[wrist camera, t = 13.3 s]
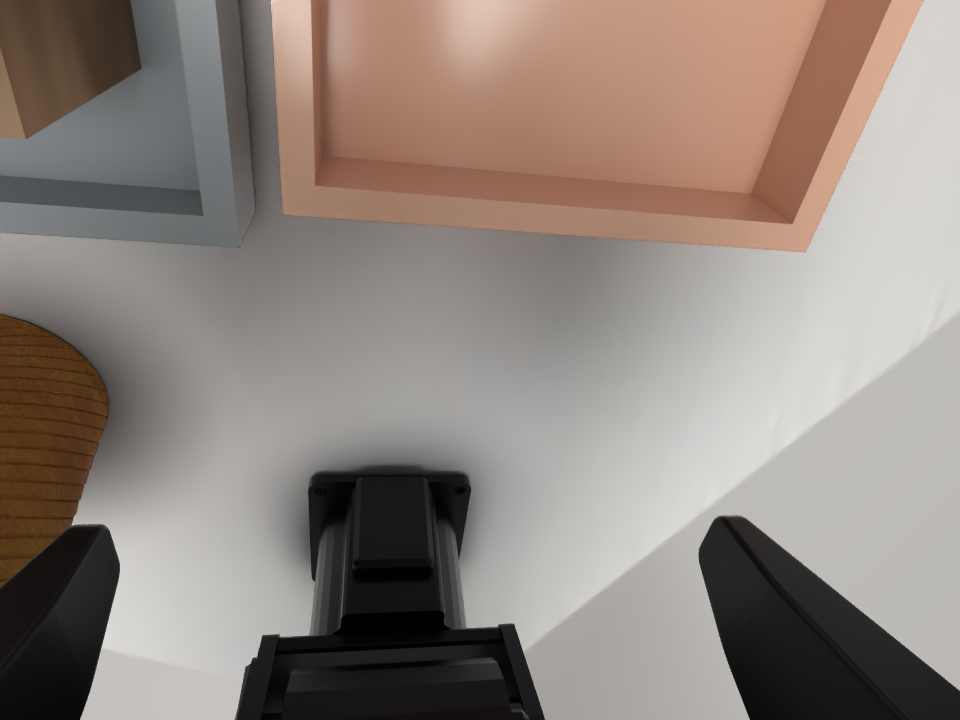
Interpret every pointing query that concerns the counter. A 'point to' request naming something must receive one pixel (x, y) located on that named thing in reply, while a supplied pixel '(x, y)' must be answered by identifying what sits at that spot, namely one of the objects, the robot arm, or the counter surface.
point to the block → (60, 58)
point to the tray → (147, 142)
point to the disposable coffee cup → (43, 438)
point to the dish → (580, 113)
